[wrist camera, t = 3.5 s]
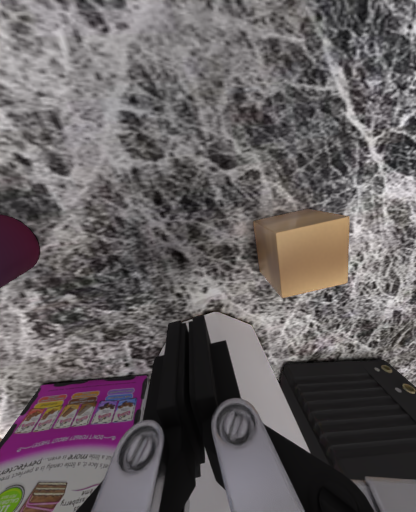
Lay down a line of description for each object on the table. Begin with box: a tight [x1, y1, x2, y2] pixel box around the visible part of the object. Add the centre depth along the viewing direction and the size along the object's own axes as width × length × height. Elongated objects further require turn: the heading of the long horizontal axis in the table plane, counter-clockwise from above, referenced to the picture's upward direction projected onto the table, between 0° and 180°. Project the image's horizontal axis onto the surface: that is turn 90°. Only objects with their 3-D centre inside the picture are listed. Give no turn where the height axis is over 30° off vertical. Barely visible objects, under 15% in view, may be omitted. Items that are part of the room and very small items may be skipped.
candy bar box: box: [0, 375, 149, 512], centre depth 15 cm, size 11×5×16 cm, turn 91°
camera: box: [280, 360, 416, 480], centre depth 19 cm, size 11×14×15 cm
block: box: [253, 209, 349, 298], centre depth 16 cm, size 5×5×5 cm
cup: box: [159, 312, 310, 512], centre depth 14 cm, size 11×11×18 cm
